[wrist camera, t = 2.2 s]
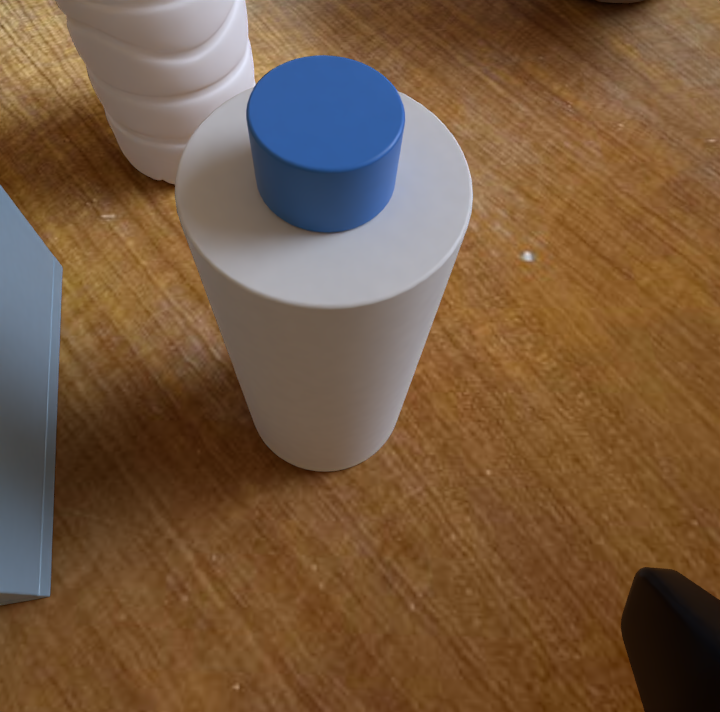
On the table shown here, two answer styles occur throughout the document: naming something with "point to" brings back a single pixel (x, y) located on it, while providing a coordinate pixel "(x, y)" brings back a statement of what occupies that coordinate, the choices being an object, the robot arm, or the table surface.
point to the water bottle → (161, 69)
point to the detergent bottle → (324, 248)
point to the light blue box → (27, 405)
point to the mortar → (620, 1)
